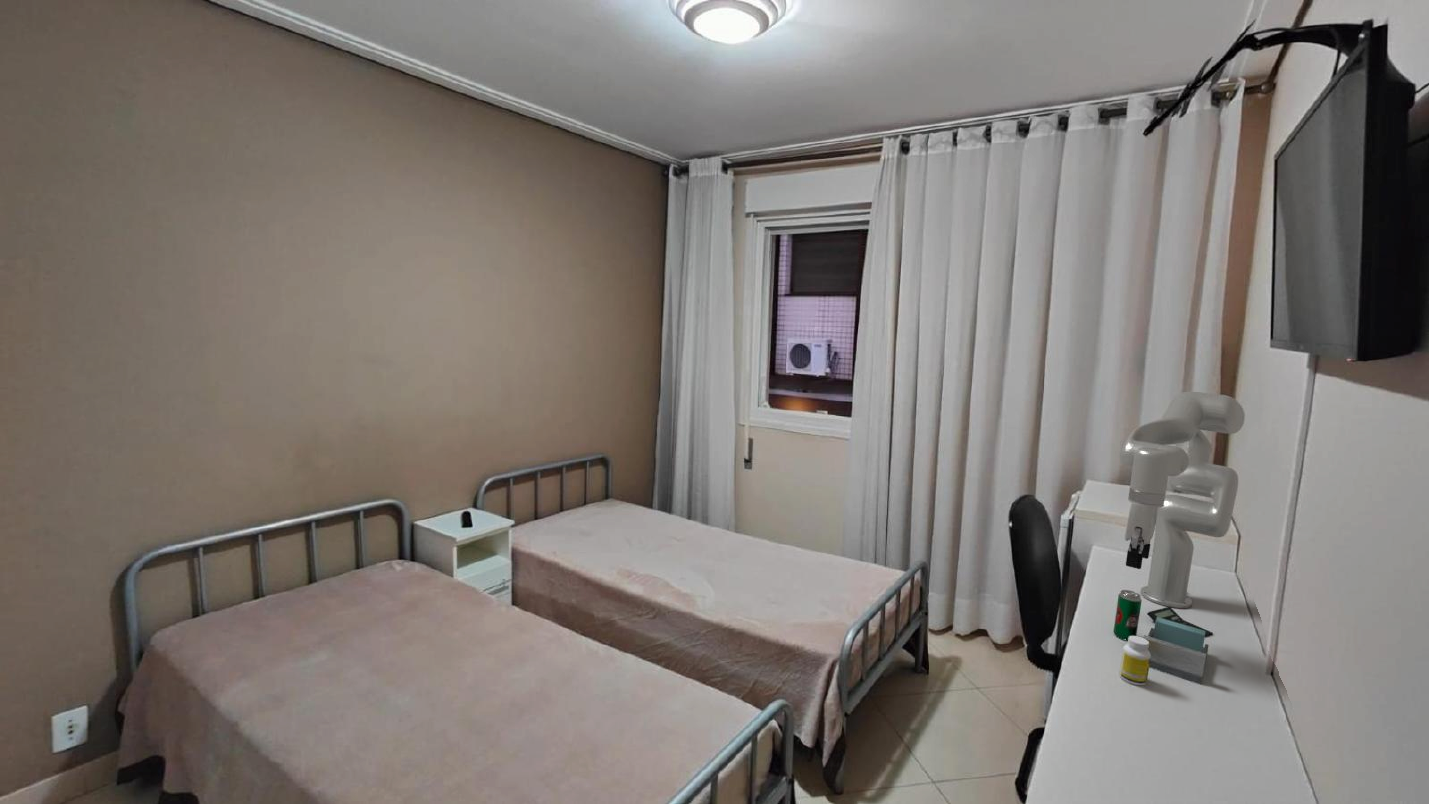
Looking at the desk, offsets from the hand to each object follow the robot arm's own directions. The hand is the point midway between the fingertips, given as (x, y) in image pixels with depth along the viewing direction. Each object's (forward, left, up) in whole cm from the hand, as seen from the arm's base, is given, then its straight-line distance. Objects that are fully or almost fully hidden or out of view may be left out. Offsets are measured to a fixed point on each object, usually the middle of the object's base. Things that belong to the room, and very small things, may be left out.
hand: (1137, 562), depth 162 cm
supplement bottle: (+21, +5, -21) cm, 30 cm away
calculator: (-18, +10, -22) cm, 30 cm away
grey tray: (+3, +11, -21) cm, 24 cm away
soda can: (-1, 0, -21) cm, 21 cm away
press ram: (-3, +10, -19) cm, 22 cm away
